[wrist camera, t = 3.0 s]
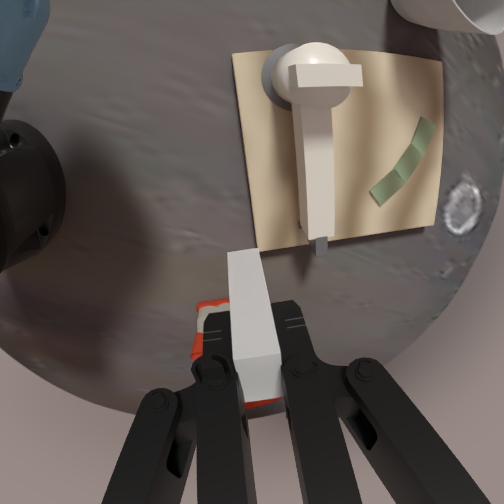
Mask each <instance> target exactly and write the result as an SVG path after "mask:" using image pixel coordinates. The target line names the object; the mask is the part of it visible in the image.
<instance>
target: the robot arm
mask: <svg viewBox="0 0 504 504" xmlns="http://www.w3.org/2000/svg"><path fill="white" fill-rule="evenodd" d="M49 15H50V1H49V0H0V273H1V272H2V271H3V270H5V269H7V268H9V267H11V266H13V265H16V264H18V263H20V262H22V261H24V260H26V259H28V258H30V257H32V256H34V255H36V254H37V253H39V252H40V251H41V250H42V249H43V248H44V247H45V246H46V245H47V244H48V242H49V241H50V240H51V239H52V238H53V237H54V235H55V234H56V232H57V231H58V229H59V227H60V224H61V222H62V218H63V215H64V209H65V184H64V178H63V174H62V170H61V167H60V164H59V161H58V159H57V156H56V154H55V152H54V150H53V149H52V147H51V145H50V144H49V142H48V141H47V140H46V138H45V137H44V136H43V135H42V134H41V133H40V132H39V131H38V130H37V129H35V128H34V127H32V126H31V125H29V124H27V123H25V122H22V121H18V120H5V121H2V119H3V116H4V114H5V111H6V109H7V106H8V104H9V101H10V99H11V97H12V94H13V92H15V91H16V90H17V89H18V88H19V87H20V85H21V83H22V80H23V74H22V73H23V71H24V68H25V66H26V64H27V62H28V60H29V58H30V55H31V53H32V51H33V49H34V47H35V45H36V43H37V41H38V39H39V38H40V36H41V34H42V32H43V30H44V28H45V26H46V24H47V22H48V18H49ZM227 255H228V277H229V298H230V310H229V311H222V312H214V313H209V314H208V315H207V317H206V319H205V321H204V324H203V351H202V356H200V357H198V358H197V359H196V360H195V361H194V363H193V364H192V368H191V371H192V374H193V376H194V378H195V380H196V382H195V383H194V384H193V385H191V386H189V387H187V388H185V389H182V390H180V391H177V392H174V393H173V392H172V391H171V390H168V389H166V388H157V389H154V390H151V391H150V392H149V393H147V394H146V395H145V397H144V398H143V400H142V401H141V404H140V406H139V409H138V411H137V413H136V416H135V418H134V421H133V423H132V426H131V428H130V431H129V433H128V436H127V438H126V441H125V443H124V446H123V448H122V451H121V453H120V456H119V458H118V461H117V463H116V466H115V469H114V472H113V474H112V476H111V479H110V482H109V485H108V487H107V490H106V493H105V495H104V498H103V501H102V503H101V504H180V502H181V498H182V495H183V491H184V487H185V484H186V480H187V477H188V473H189V469H190V466H191V462H192V459H193V455H194V451H195V448H196V444H197V501H198V504H257V499H256V491H255V482H254V473H253V465H252V456H251V447H250V438H249V429H248V419H247V413H246V410H245V402H252V401H259V400H266V399H273V398H279V397H284V399H285V405H286V418H288V424H289V429H290V434H291V440H292V445H293V451H294V456H295V461H296V467H297V472H298V477H299V482H300V488H301V493H302V499H303V504H362V501H361V497H360V493H359V489H358V486H357V482H356V479H355V475H354V471H353V467H352V464H351V460H350V457H349V453H348V450H347V447H346V443H345V439H344V436H343V432H342V429H341V426H340V422H339V419H338V417H340V418H341V419H342V421H343V422H344V424H345V426H346V427H347V428H348V430H349V432H350V433H351V435H352V436H353V438H354V439H355V441H356V443H357V444H358V446H359V447H360V449H361V450H362V452H363V454H364V455H365V457H366V458H367V460H368V461H369V463H370V464H371V466H372V467H373V469H374V470H375V472H376V474H377V475H378V477H379V478H380V480H381V481H382V483H383V484H384V486H385V487H386V489H387V490H388V492H389V493H390V495H391V496H392V498H393V499H394V501H395V502H396V504H491V503H490V502H489V500H488V499H487V498H486V496H485V495H484V493H483V492H482V491H481V489H480V488H479V487H478V485H477V484H476V483H475V482H474V480H473V479H472V477H471V476H470V475H469V474H468V472H467V471H466V470H465V468H464V467H463V466H462V465H461V463H460V462H459V460H458V459H457V458H456V457H455V455H454V454H453V453H452V451H451V450H450V449H449V448H448V446H447V445H446V444H445V443H444V441H443V440H442V439H441V437H440V436H439V435H438V434H437V432H436V431H435V430H434V428H433V427H432V426H431V425H430V424H429V422H428V421H427V420H426V418H425V417H424V416H423V415H422V414H421V412H420V411H419V410H418V409H417V407H416V406H415V405H414V404H413V402H412V401H411V400H410V399H409V397H408V396H407V395H406V394H405V392H404V391H403V390H402V389H401V387H400V386H399V385H398V384H397V383H396V381H395V380H394V379H393V378H392V377H391V375H390V374H389V373H388V372H387V370H386V369H385V368H384V367H383V366H382V364H380V363H379V362H378V361H377V360H374V359H372V358H359V359H355V360H354V361H353V362H351V363H350V364H349V366H335V365H329V364H327V363H324V362H323V361H321V360H320V359H319V358H318V357H317V356H316V354H315V352H314V349H313V346H312V343H311V339H310V336H309V333H308V330H307V327H306V324H305V321H304V318H303V314H302V311H301V308H300V307H299V306H298V305H297V304H296V303H295V302H294V301H293V300H289V301H283V302H277V303H271V304H270V300H269V296H268V291H267V286H266V282H265V277H264V273H263V268H262V263H261V259H260V254H259V249H258V248H254V249H247V250H241V251H234V252H228V253H227ZM244 400H245V401H244Z"/></svg>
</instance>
